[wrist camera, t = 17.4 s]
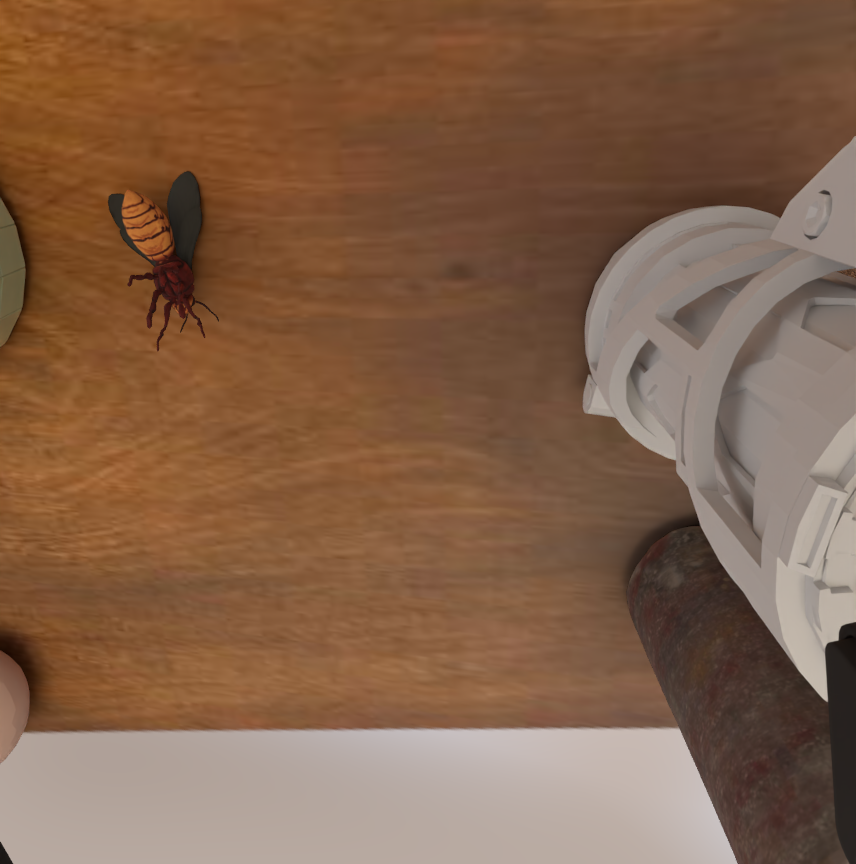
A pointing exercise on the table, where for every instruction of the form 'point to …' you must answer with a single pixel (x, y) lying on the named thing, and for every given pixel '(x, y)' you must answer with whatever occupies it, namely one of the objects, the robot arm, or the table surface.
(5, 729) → the egg
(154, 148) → the table surface
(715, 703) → the candle
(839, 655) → the robot arm
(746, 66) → the table surface
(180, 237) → the insect
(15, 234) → the bowl
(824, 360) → the lantern
